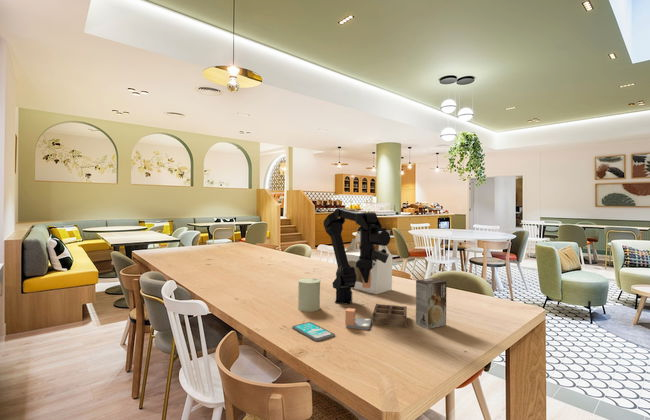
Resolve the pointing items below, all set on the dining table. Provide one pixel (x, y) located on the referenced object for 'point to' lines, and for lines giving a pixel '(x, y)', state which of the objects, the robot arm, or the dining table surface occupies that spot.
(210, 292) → the dining table surface
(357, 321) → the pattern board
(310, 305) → the can
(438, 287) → the coffee box
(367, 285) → the peg
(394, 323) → the socket block
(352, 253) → the gable box
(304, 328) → the smartphone
